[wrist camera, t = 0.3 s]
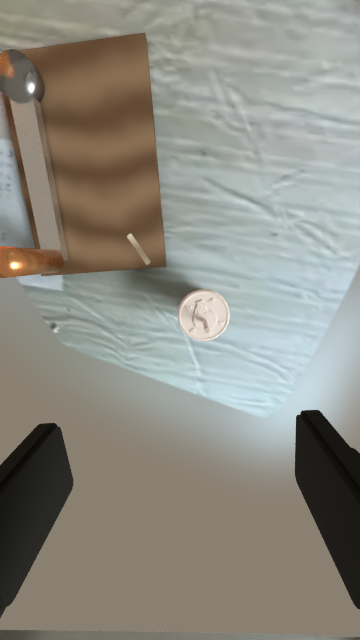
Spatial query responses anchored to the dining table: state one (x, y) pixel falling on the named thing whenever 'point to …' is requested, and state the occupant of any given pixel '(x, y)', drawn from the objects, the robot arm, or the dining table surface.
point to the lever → (32, 170)
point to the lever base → (100, 153)
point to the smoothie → (203, 314)
